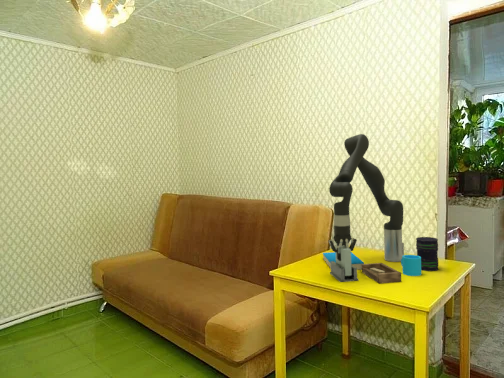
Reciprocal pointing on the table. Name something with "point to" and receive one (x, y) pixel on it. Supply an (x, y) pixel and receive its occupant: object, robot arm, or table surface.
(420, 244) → the storage jar
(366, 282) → the table surface
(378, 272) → the birch offcut
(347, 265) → the blue-grey panel
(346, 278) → the charcoal stand
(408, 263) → the mug
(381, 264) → the brown wooden tray
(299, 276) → the table surface
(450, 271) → the table surface
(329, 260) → the book
